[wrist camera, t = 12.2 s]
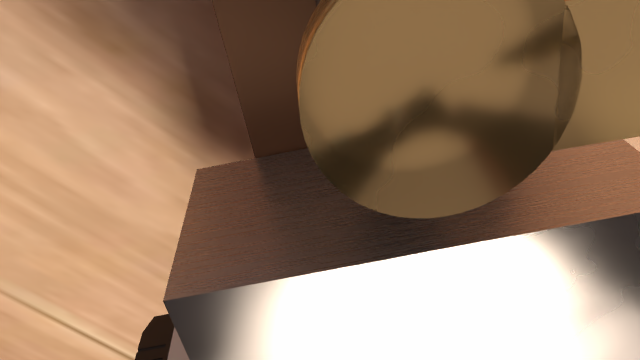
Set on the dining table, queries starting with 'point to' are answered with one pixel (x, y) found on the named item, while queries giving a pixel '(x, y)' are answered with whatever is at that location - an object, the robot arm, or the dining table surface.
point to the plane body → (266, 67)
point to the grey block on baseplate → (410, 267)
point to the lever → (461, 94)
